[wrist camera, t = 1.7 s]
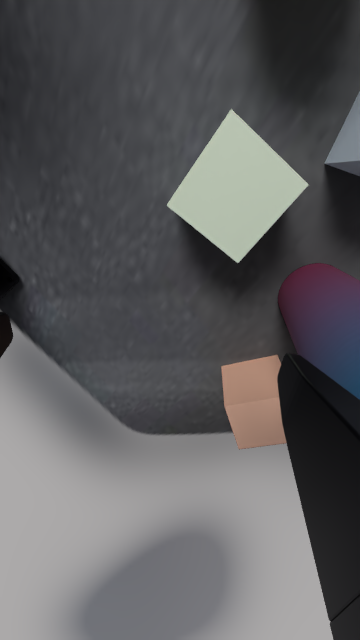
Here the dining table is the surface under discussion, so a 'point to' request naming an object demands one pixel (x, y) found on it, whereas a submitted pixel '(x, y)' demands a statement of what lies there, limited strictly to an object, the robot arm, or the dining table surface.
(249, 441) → the block terracotta
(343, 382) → the cup
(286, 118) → the dining table surface
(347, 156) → the block slate
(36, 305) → the dining table surface
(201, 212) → the block sage
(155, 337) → the dining table surface
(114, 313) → the dining table surface
